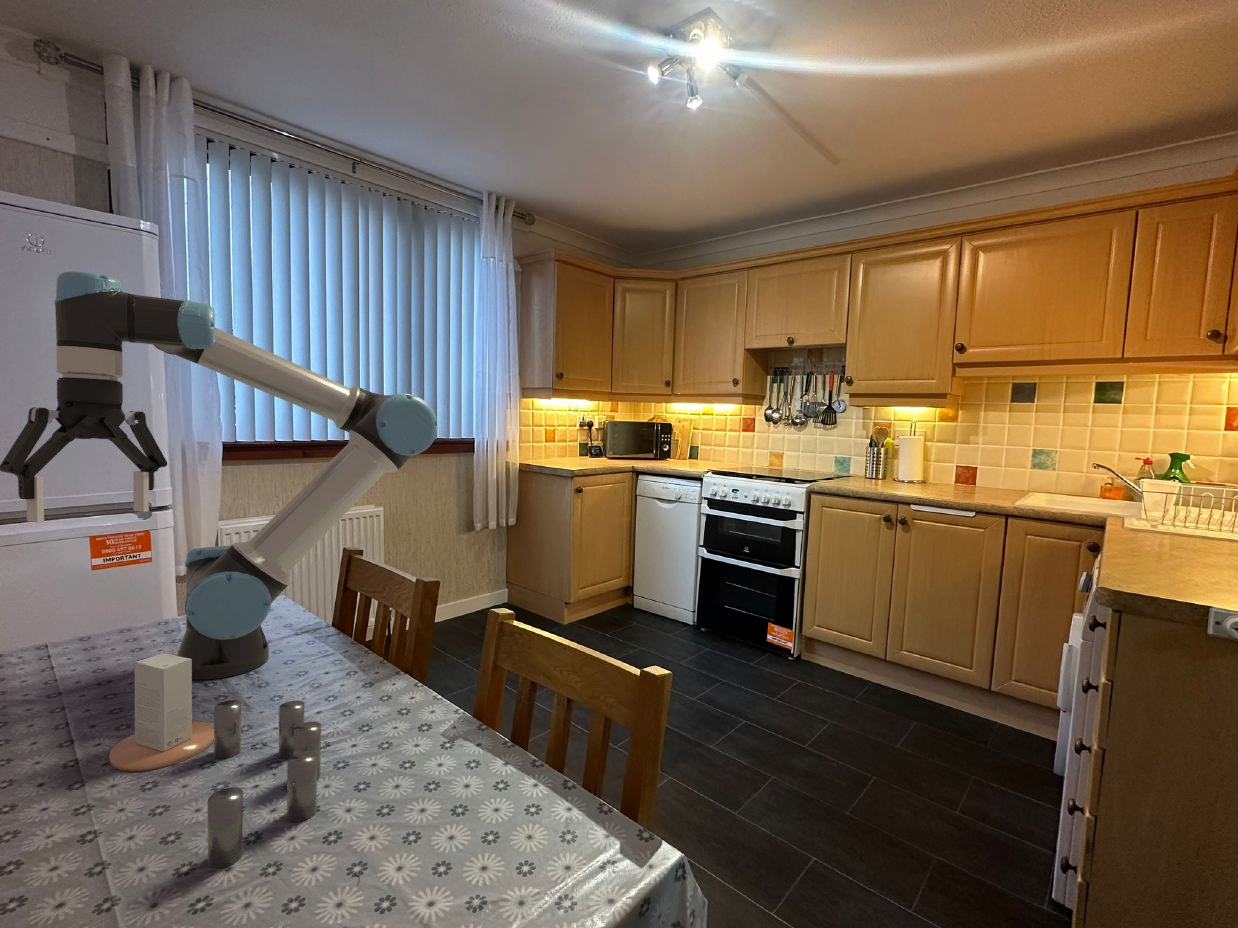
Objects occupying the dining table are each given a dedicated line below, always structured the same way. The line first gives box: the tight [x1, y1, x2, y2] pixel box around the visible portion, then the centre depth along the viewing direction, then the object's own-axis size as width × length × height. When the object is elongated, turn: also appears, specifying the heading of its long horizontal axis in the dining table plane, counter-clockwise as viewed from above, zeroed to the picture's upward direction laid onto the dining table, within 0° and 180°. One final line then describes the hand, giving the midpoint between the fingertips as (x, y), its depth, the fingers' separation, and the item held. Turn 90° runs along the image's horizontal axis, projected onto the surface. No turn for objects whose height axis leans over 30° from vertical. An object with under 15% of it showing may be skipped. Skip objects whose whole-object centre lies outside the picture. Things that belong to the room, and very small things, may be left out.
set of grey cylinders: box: [207, 699, 322, 870], centre depth 76 cm, size 21×24×7 cm
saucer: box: [109, 720, 214, 772], centre depth 86 cm, size 12×12×1 cm
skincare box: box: [134, 652, 193, 752], centre depth 85 cm, size 6×4×12 cm
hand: (91, 516), depth 92 cm, fingers open, 13 cm apart
